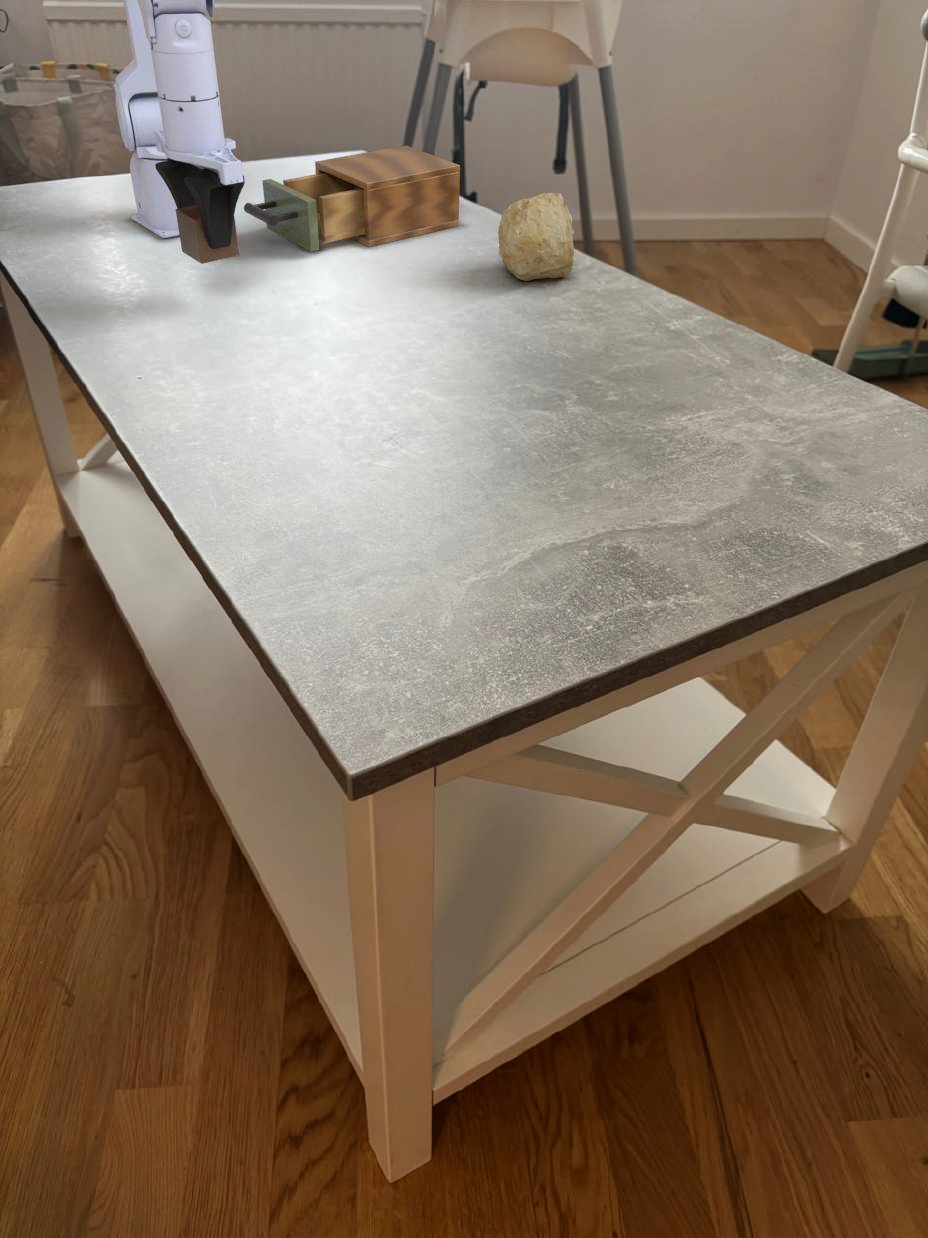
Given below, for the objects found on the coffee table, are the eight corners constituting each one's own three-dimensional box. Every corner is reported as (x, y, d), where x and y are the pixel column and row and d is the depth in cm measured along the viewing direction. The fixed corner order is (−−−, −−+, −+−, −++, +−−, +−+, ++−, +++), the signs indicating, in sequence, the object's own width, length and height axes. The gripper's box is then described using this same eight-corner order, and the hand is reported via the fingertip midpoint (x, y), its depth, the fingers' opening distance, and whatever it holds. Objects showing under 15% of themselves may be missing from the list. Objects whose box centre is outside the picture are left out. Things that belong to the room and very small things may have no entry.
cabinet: (369, 247, 121) (366, 183, 116) (318, 222, 127) (314, 161, 123) (458, 225, 128) (460, 164, 123) (406, 203, 135) (406, 145, 130)
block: (181, 251, 102) (175, 208, 99) (219, 243, 104) (213, 201, 101) (201, 264, 99) (195, 220, 96) (239, 255, 101) (234, 212, 98)
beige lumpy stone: (609, 228, 107) (533, 193, 103) (564, 308, 113) (490, 277, 109) (587, 195, 114) (515, 161, 110) (546, 272, 120) (476, 242, 116)
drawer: (281, 258, 114) (277, 207, 111) (238, 234, 120) (232, 185, 117) (400, 230, 123) (399, 182, 119) (354, 209, 129) (352, 163, 125)
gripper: (264, 105, 90) (278, 252, 98) (191, 76, 98) (210, 214, 107) (195, 114, 86) (216, 266, 95) (126, 84, 94) (150, 226, 103)
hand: (208, 239), depth 100 cm, fingers closed on block, 4 cm apart
